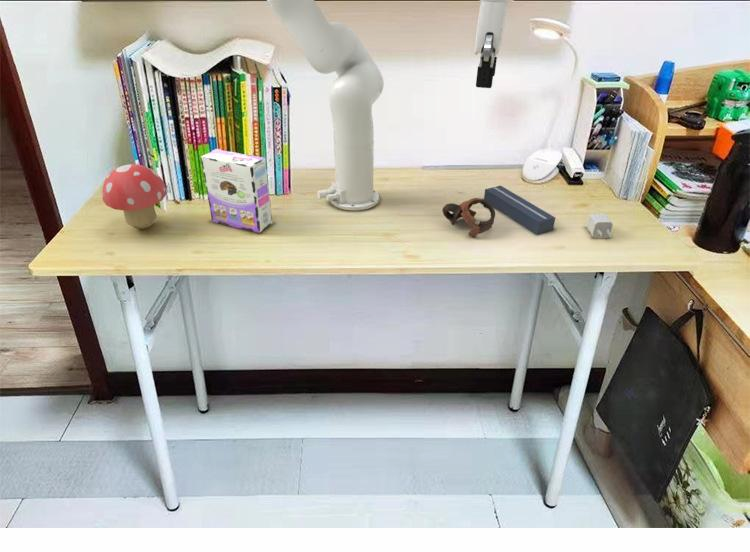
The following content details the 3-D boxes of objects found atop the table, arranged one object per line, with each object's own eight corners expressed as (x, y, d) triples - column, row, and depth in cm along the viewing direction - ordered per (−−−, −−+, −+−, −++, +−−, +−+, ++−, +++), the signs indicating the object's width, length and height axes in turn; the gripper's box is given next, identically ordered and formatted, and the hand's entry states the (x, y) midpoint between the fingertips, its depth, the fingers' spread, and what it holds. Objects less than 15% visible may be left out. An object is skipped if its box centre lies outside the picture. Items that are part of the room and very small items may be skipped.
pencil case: (536, 234, 128) (539, 221, 126) (483, 200, 143) (485, 188, 141) (553, 229, 130) (555, 217, 128) (499, 196, 145) (500, 184, 143)
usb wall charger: (603, 228, 131) (607, 213, 129) (613, 243, 125) (617, 227, 123) (586, 228, 131) (589, 213, 129) (595, 243, 125) (599, 227, 123)
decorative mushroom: (119, 216, 134) (103, 156, 125) (177, 212, 135) (164, 153, 127) (106, 244, 123) (87, 180, 114) (169, 239, 124) (155, 177, 116)
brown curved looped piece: (483, 218, 136) (498, 198, 129) (483, 250, 131) (499, 231, 124) (437, 206, 134) (449, 186, 127) (435, 239, 129) (448, 219, 122)
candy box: (273, 223, 131) (267, 157, 122) (259, 234, 127) (251, 166, 118) (226, 211, 136) (216, 146, 127) (210, 221, 132) (199, 155, 123)
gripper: (480, -15, 116) (471, 70, 126) (472, -4, 102) (463, 90, 112) (516, -13, 115) (505, 72, 124) (514, -3, 101) (501, 93, 110)
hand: (485, 81), depth 118 cm, fingers open, 9 cm apart
